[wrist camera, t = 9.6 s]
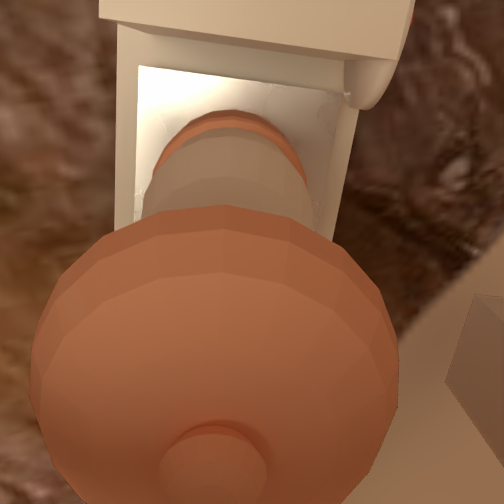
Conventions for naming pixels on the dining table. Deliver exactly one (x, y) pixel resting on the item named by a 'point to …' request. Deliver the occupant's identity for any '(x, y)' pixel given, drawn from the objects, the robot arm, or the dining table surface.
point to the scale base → (258, 62)
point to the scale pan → (239, 98)
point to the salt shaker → (216, 339)
